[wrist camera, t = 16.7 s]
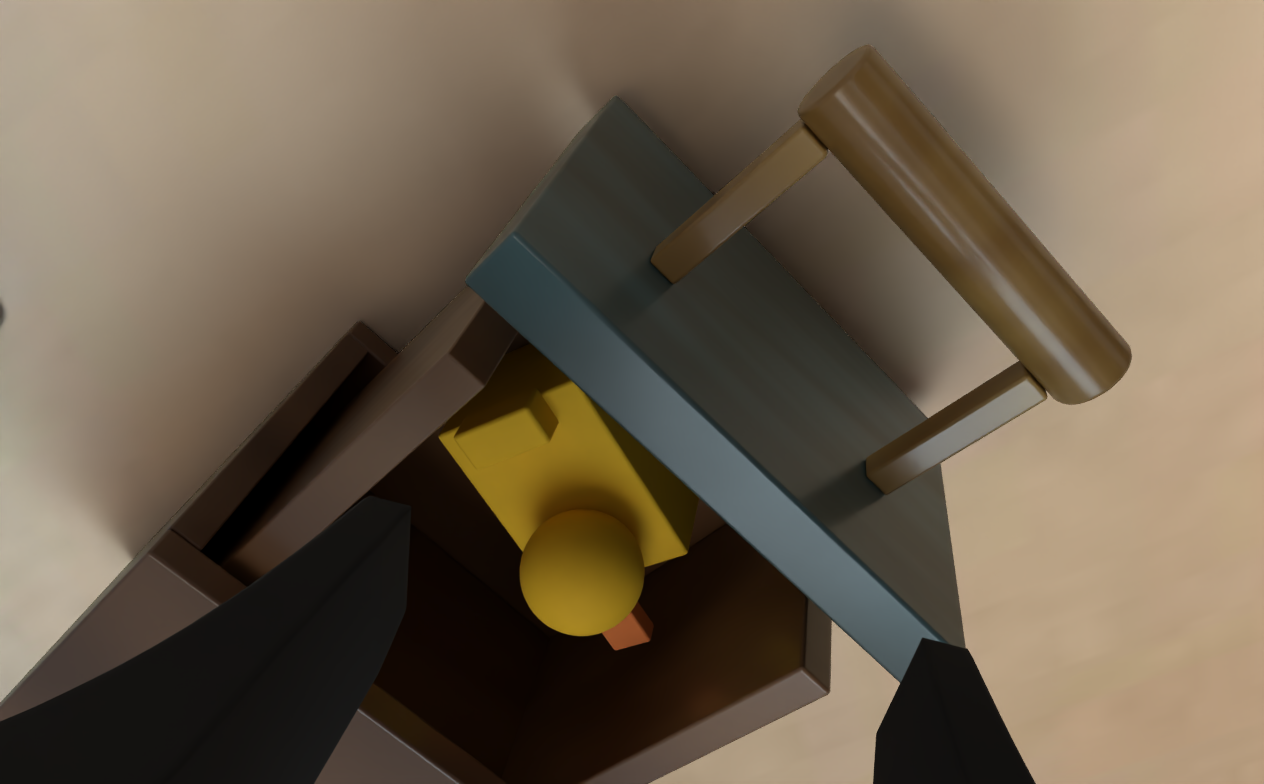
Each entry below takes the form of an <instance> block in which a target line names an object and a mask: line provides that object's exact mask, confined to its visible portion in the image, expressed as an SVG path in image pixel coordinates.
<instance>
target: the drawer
mask: <svg viewBox="0 0 1264 784" xmlns="http://www.w3.org/2000/svg"><path fill="white" fill-rule="evenodd" d="M798 115H799V117H800V118H801V119H800V120H799V121H798V122H797V123H796V124H795V125H794V126H792V127H791V128H790V129H789V130H788V131H787V132H786V133H785V134H783V135H782V136H781V137H780V138H779V139H778V140H777V141H776V142H774V143H773V144H772V145H771V146H770V147H769V148H768V149H766V150H765V151H764V152H763V153H762V154H761V155H760V156H759V157H757V158H756V159H755V160H754V161H753V162H752V163H751V164H749V165H748V166H747V167H746V168H745V169H744V170H743V171H742V172H740V173H739V174H738V175H737V176H736V177H735V178H734V179H732V180H731V181H730V182H729V183H728V184H727V185H726V186H725V187H723V188H722V189H721V190H720V191H719V192H718V193H717V194H715V195H713V194H712V193H711V192H710V191H709V190H708V189H707V188H706V187H705V186H704V185H703V184H702V183H701V182H700V180H699V179H698V178H697V177H696V176H695V175H694V174H693V173H692V172H691V171H690V170H689V169H688V168H687V167H686V166H685V165H684V164H683V163H682V162H681V161H680V160H679V159H678V158H677V157H676V155H675V154H674V153H673V152H672V151H671V150H670V149H669V148H668V147H667V146H666V145H665V144H664V143H663V142H662V141H661V140H660V139H659V138H658V137H657V136H656V135H655V134H654V133H653V132H652V131H651V129H650V128H649V127H648V126H647V125H646V124H645V123H644V122H643V121H642V120H641V119H640V118H639V117H638V116H637V115H636V114H635V113H634V112H633V111H632V110H631V109H630V108H629V107H628V106H627V105H626V103H625V102H624V101H623V100H622V99H621V98H620V97H619V96H613V97H612V98H611V99H610V100H609V101H608V102H607V104H606V105H605V106H604V107H603V108H602V109H601V110H600V111H599V112H598V113H597V114H596V115H595V116H594V117H593V118H592V119H591V120H590V121H589V122H588V123H587V124H586V125H585V126H584V127H583V128H582V129H581V130H580V131H579V132H578V134H577V135H576V136H575V138H574V139H573V140H572V141H571V143H570V144H569V145H568V147H567V148H566V149H565V150H564V152H563V153H562V154H561V156H560V157H559V158H558V159H557V161H556V162H555V163H554V165H553V166H552V167H551V168H550V170H549V171H548V172H547V174H546V175H545V176H544V177H543V179H542V180H541V181H540V183H539V184H538V185H537V186H536V188H535V189H534V190H533V192H532V193H531V194H530V195H529V197H528V198H527V199H526V201H525V202H524V203H523V205H522V206H521V207H520V208H519V210H518V211H517V212H516V214H515V215H514V216H513V217H512V219H511V220H510V221H509V223H508V224H507V225H506V226H505V228H504V229H503V230H502V232H501V233H500V234H499V235H498V237H497V238H496V239H495V241H494V242H493V243H492V244H491V246H490V247H489V248H488V250H487V251H486V252H485V253H484V255H483V256H482V257H481V259H480V260H479V261H478V262H477V264H476V265H475V266H474V268H473V269H472V270H471V271H470V273H469V274H468V275H467V277H466V280H465V282H466V284H467V286H466V287H465V288H464V289H463V290H462V291H461V292H460V293H459V294H458V295H457V296H456V297H455V298H454V299H453V300H452V301H451V302H450V303H449V304H448V305H447V306H446V307H445V308H444V309H443V310H442V311H441V312H440V313H439V314H438V315H437V316H436V317H435V318H434V319H433V320H432V321H431V322H430V323H429V324H428V325H427V326H426V327H425V328H424V329H423V330H422V331H421V332H420V333H419V334H418V335H417V336H416V337H415V338H414V339H413V340H412V341H411V342H410V343H409V344H408V345H407V346H406V347H405V348H404V349H403V350H402V351H401V352H400V353H399V354H398V355H397V356H396V357H395V358H394V359H393V360H392V361H391V362H390V363H389V364H388V365H387V366H386V367H385V368H384V369H383V370H382V371H381V372H380V373H379V374H378V375H377V376H376V377H375V378H374V379H373V380H372V381H371V382H370V383H369V384H368V385H366V386H365V387H364V388H363V389H362V390H361V391H360V392H359V393H358V394H357V395H356V396H355V397H354V398H353V399H352V400H351V401H350V402H349V403H348V404H347V405H346V406H345V407H344V408H343V409H342V410H341V411H340V412H339V413H338V414H337V415H336V416H335V417H334V418H333V419H332V420H331V421H330V422H329V423H328V424H327V425H326V426H325V427H324V428H323V429H322V430H321V431H320V432H319V433H318V434H317V435H316V436H315V437H314V438H313V439H312V440H311V441H310V442H309V444H308V445H307V446H306V447H305V448H304V450H303V451H302V452H301V453H300V455H299V456H298V457H297V458H296V459H295V461H294V462H293V463H292V464H291V465H290V467H289V468H288V469H287V470H286V472H285V473H284V474H283V475H282V476H281V478H280V479H279V480H278V481H277V483H276V484H275V485H274V486H273V487H272V489H271V490H270V491H269V492H268V493H267V495H266V496H265V497H264V498H263V500H262V501H261V502H260V503H259V504H258V506H257V507H256V508H255V509H254V511H253V512H252V513H251V514H250V515H249V517H248V518H247V519H246V520H245V522H244V523H243V524H242V525H241V526H240V528H239V529H238V530H237V531H236V533H235V534H234V535H233V536H232V537H231V539H230V540H229V541H228V542H227V544H226V545H225V546H224V547H223V548H222V550H221V551H220V552H219V553H218V554H217V556H216V557H215V558H214V559H213V561H214V562H215V563H216V564H218V565H219V566H220V567H222V568H223V569H224V570H226V571H227V572H228V573H230V574H231V575H232V576H234V577H235V578H236V579H237V580H239V581H240V582H241V583H243V584H244V585H245V586H247V587H248V586H249V585H251V584H252V583H253V582H255V581H256V580H258V579H259V578H260V577H262V576H263V575H265V574H266V573H267V572H269V571H270V570H271V569H273V568H274V567H276V566H277V565H278V564H280V563H281V562H283V561H284V560H285V559H287V558H288V557H289V556H291V555H292V554H294V553H295V552H296V551H297V550H299V549H300V548H301V547H303V546H304V545H305V544H307V543H308V542H309V541H311V540H312V539H313V538H315V537H316V536H317V535H318V534H320V533H321V532H322V531H324V530H325V529H326V528H327V527H329V526H330V525H331V524H332V523H334V522H335V521H336V520H337V519H339V518H340V517H341V516H343V515H344V514H345V513H346V512H348V511H349V510H350V509H351V508H353V507H354V506H355V505H356V504H358V503H359V502H360V501H361V500H363V499H365V498H367V497H368V496H374V497H378V498H381V499H385V500H389V501H393V502H397V503H401V504H405V505H409V506H411V524H410V544H409V565H408V585H407V606H406V611H405V613H404V616H403V618H402V620H401V623H400V625H399V628H398V630H397V632H396V635H395V637H394V639H393V642H392V644H391V646H390V649H389V651H388V653H387V655H386V658H385V660H384V662H383V664H382V667H381V669H380V671H379V673H378V675H377V677H376V679H375V680H374V683H375V684H377V685H378V686H379V687H381V688H382V689H383V690H385V691H386V692H387V693H389V694H390V695H391V696H393V697H394V698H395V699H397V700H398V701H399V702H401V703H402V704H403V705H405V706H406V707H407V708H409V709H410V710H411V711H413V712H414V713H415V714H417V715H418V716H419V717H421V718H422V719H423V720H424V721H426V722H427V723H428V724H430V725H431V726H432V727H434V728H435V729H436V730H438V731H439V732H440V733H442V734H443V735H444V736H446V737H447V738H448V739H450V740H451V741H452V742H454V743H455V744H456V745H458V746H459V747H460V748H462V749H463V750H464V751H466V752H467V753H468V754H470V755H471V756H472V757H474V758H475V759H476V760H478V761H479V762H480V763H482V764H483V765H484V766H485V767H487V768H488V769H489V770H491V771H492V772H493V773H495V774H496V775H497V776H499V777H500V778H501V779H503V780H504V781H505V782H507V783H508V784H648V783H650V782H652V781H654V780H656V779H658V778H660V777H662V776H664V775H666V774H668V773H670V772H672V771H675V770H677V769H679V768H681V767H683V766H685V765H687V764H689V763H691V762H693V761H695V760H697V759H699V758H701V757H703V756H705V755H707V754H709V753H711V752H713V751H715V750H717V749H719V748H721V747H723V746H725V745H727V744H729V743H731V742H733V741H735V740H737V739H739V738H741V737H743V736H745V735H747V734H749V733H751V732H753V731H755V730H757V729H759V728H761V727H763V726H765V725H767V724H769V723H771V722H773V721H775V720H777V719H779V718H781V717H783V716H785V715H787V714H789V713H791V712H793V711H796V710H798V709H800V708H802V707H804V706H806V705H808V704H810V703H812V702H814V701H816V700H818V699H820V698H822V697H824V696H826V695H828V694H829V692H830V679H831V627H832V621H834V622H835V623H836V624H837V625H838V626H839V627H840V628H841V629H842V630H843V631H844V632H846V633H847V634H848V635H849V636H850V637H851V638H852V639H853V640H854V641H855V642H856V643H857V644H859V645H860V646H861V647H862V648H863V649H864V650H865V651H866V652H867V653H868V654H869V655H871V656H872V657H873V658H874V659H875V660H876V661H877V662H878V663H879V664H880V665H881V666H883V667H884V668H885V669H886V670H887V671H888V672H889V673H890V674H891V675H892V676H893V677H894V678H896V679H897V680H898V681H899V682H900V683H901V681H902V679H903V677H904V675H905V673H906V671H907V668H908V666H909V664H910V662H911V660H912V658H913V656H914V654H915V652H916V650H917V648H918V645H919V643H920V641H921V639H922V637H923V638H927V639H931V640H935V641H939V642H942V643H946V644H950V645H954V646H958V647H962V648H966V647H965V639H964V632H963V625H962V617H961V610H960V603H959V595H958V588H957V581H956V573H955V566H954V559H953V551H952V544H951V537H950V530H949V522H948V515H947V508H946V500H945V493H944V486H943V478H942V471H941V464H940V463H942V462H943V461H945V460H946V459H948V458H950V457H951V456H953V455H955V454H956V453H958V452H960V451H961V450H963V449H965V448H966V447H968V446H970V445H971V444H973V443H975V442H976V441H978V440H980V439H981V438H983V437H985V436H986V435H988V434H990V433H991V432H993V431H995V430H996V429H998V428H1000V427H1001V426H1003V425H1005V424H1006V423H1008V422H1010V421H1011V420H1013V419H1015V418H1016V417H1018V416H1020V415H1021V414H1023V413H1025V412H1026V411H1028V410H1030V409H1031V408H1033V407H1035V406H1036V405H1038V404H1040V403H1041V402H1043V401H1045V400H1046V399H1047V393H1046V391H1047V392H1048V393H1049V394H1050V395H1051V396H1052V397H1053V398H1054V399H1055V400H1056V401H1058V402H1061V403H1063V404H1069V405H1073V404H1080V403H1084V402H1087V401H1090V400H1092V399H1094V398H1096V397H1098V396H1100V395H1102V394H1103V393H1105V392H1106V391H1108V390H1109V389H1110V388H1112V387H1113V386H1114V385H1115V384H1116V383H1117V382H1118V381H1119V380H1120V379H1121V378H1122V377H1123V376H1124V374H1125V373H1126V371H1127V370H1128V368H1129V366H1130V363H1131V359H1132V354H1131V349H1130V346H1129V345H1128V343H1127V342H1126V341H1125V340H1124V339H1123V338H1122V336H1121V335H1120V334H1119V333H1118V332H1117V331H1116V329H1115V328H1114V327H1113V326H1112V325H1111V324H1110V322H1109V321H1108V320H1107V319H1106V318H1105V317H1104V315H1103V314H1102V313H1101V312H1100V311H1099V310H1098V308H1097V307H1096V306H1095V305H1094V304H1093V302H1092V301H1091V300H1090V299H1089V298H1088V297H1087V295H1086V294H1085V293H1084V292H1083V291H1082V290H1081V288H1080V287H1079V286H1078V285H1077V284H1076V283H1075V281H1074V280H1073V279H1072V278H1071V277H1070V276H1069V274H1068V273H1067V272H1066V271H1065V270H1064V269H1063V267H1062V266H1061V265H1060V264H1059V263H1058V262H1057V260H1056V259H1055V258H1054V257H1053V256H1052V255H1051V253H1050V252H1049V251H1048V250H1047V249H1046V248H1045V246H1044V245H1043V244H1042V243H1041V242H1040V240H1039V239H1038V238H1037V237H1036V236H1035V235H1034V233H1033V232H1032V231H1031V230H1030V229H1029V228H1028V226H1027V225H1026V224H1025V223H1024V222H1023V221H1022V219H1021V218H1020V217H1019V216H1018V215H1017V214H1016V212H1015V211H1014V210H1013V209H1012V208H1011V207H1010V205H1009V204H1008V203H1007V202H1006V201H1005V200H1004V198H1003V197H1002V196H1001V195H1000V194H999V193H998V191H997V190H996V189H995V188H994V187H993V186H992V184H991V183H990V182H989V181H988V180H987V179H986V177H985V176H984V175H983V174H982V173H981V171H980V170H979V169H978V168H977V167H976V166H975V164H974V163H973V162H972V161H971V160H970V159H969V157H968V156H967V155H966V154H965V153H964V152H963V150H962V149H961V148H960V147H959V146H958V145H957V143H956V142H955V141H954V140H953V139H952V138H951V136H950V135H949V134H948V133H947V132H946V131H945V129H944V128H943V127H942V126H941V125H940V124H939V122H938V121H937V120H936V119H935V118H934V117H933V115H932V114H931V113H930V112H929V111H928V109H927V108H926V107H925V106H924V105H923V104H922V102H921V101H920V100H919V99H918V98H917V97H916V95H915V94H914V93H913V92H912V91H911V90H910V88H909V87H908V86H907V85H906V84H905V83H904V81H903V80H902V79H901V78H900V77H899V76H898V74H897V73H896V72H895V71H894V70H893V69H892V67H891V66H890V65H889V64H888V63H887V62H886V60H885V59H884V58H883V57H882V56H881V55H880V53H879V52H878V51H877V50H876V49H875V47H873V46H871V45H869V44H868V45H864V46H862V47H860V48H858V49H856V50H854V51H853V52H851V53H850V54H848V55H847V56H846V57H844V58H843V59H842V60H840V61H839V62H838V63H837V64H836V65H835V66H833V67H832V68H831V69H830V70H829V71H828V72H827V73H826V74H825V75H824V76H823V77H822V78H821V79H820V80H819V81H818V82H817V83H816V84H815V85H814V86H813V87H812V89H811V90H810V91H809V92H808V93H807V95H806V96H805V97H804V99H803V100H802V102H801V104H800V106H799V108H798ZM828 149H829V150H830V152H831V153H832V154H833V155H834V156H835V157H836V158H837V159H838V160H839V162H840V163H841V164H842V165H843V166H844V167H845V168H846V169H847V170H848V171H849V173H850V174H851V175H852V176H853V177H854V178H855V179H856V180H857V181H858V183H859V184H860V185H861V186H862V187H863V188H864V189H865V190H866V191H867V193H868V194H869V195H870V196H871V197H872V198H873V199H874V200H875V201H876V202H877V204H878V205H879V206H880V207H881V208H882V209H883V210H884V211H885V212H886V214H887V215H888V216H889V217H890V218H891V219H892V220H893V221H894V222H895V224H896V225H897V226H898V227H899V228H900V229H901V230H902V231H903V232H904V233H905V235H906V236H907V237H908V238H909V239H910V240H911V241H912V242H913V243H914V245H915V246H916V247H917V248H918V249H919V250H920V251H921V252H922V253H923V255H924V256H925V257H926V258H927V259H928V260H929V261H930V262H931V263H932V264H933V266H934V267H935V268H936V269H937V270H938V271H939V272H940V273H941V274H942V276H943V277H944V278H945V279H946V280H947V281H948V282H949V283H950V284H951V286H952V287H953V288H954V289H955V290H956V291H957V292H958V293H959V294H960V295H961V297H962V298H963V299H964V300H965V301H966V302H967V303H968V304H969V305H970V307H971V308H972V309H973V310H974V311H975V312H976V313H977V314H978V315H979V317H980V318H981V319H982V320H983V321H984V322H985V323H986V324H987V325H988V326H989V328H990V329H991V330H992V331H993V332H994V333H995V334H996V335H997V336H998V338H999V339H1000V340H1001V341H1002V342H1003V343H1004V344H1005V345H1006V346H1007V348H1008V349H1009V350H1010V351H1011V352H1012V353H1013V354H1014V355H1015V356H1016V357H1017V359H1018V360H1019V361H1018V362H1016V363H1015V364H1013V365H1012V366H1010V367H1009V368H1007V369H1005V370H1004V371H1002V372H1001V373H999V374H998V375H996V376H994V377H993V378H991V379H990V380H988V381H986V382H985V383H983V384H982V385H980V386H979V387H977V388H975V389H974V390H972V391H971V392H969V393H968V394H966V395H964V396H963V397H961V398H960V399H958V400H956V401H955V402H953V403H952V404H950V405H949V406H947V407H945V408H944V409H942V410H941V411H939V412H938V413H936V414H934V415H933V416H931V417H930V418H927V417H926V416H925V415H924V414H923V412H922V411H921V410H920V409H919V408H918V407H917V406H916V405H915V404H914V403H913V402H912V401H911V400H910V399H909V398H908V397H907V396H906V395H905V394H904V393H903V392H902V391H901V390H900V389H899V387H898V386H897V385H896V384H895V383H894V382H893V381H892V380H891V379H890V378H889V377H888V376H887V375H886V374H885V373H884V372H883V371H882V370H881V369H880V368H879V367H878V366H877V365H876V364H875V363H874V361H873V360H872V359H871V358H870V357H869V356H868V355H867V354H866V353H865V352H864V351H863V350H862V349H861V348H860V347H859V346H858V345H857V344H856V343H855V342H854V341H853V340H852V339H851V338H850V337H849V335H848V334H847V333H846V332H845V331H844V330H843V329H842V328H841V327H840V326H839V325H838V324H837V323H836V322H835V321H834V320H833V319H832V318H831V317H830V316H829V315H828V314H827V313H826V312H825V311H824V309H823V308H822V307H821V306H820V305H819V304H818V303H817V302H816V301H815V300H814V299H813V298H812V297H811V296H810V295H809V294H808V293H807V292H806V291H805V290H804V289H803V288H802V287H801V286H800V285H799V283H798V282H797V281H796V280H795V279H794V278H793V277H792V276H791V275H790V274H789V273H788V272H787V271H786V270H785V269H784V268H783V267H782V266H781V265H780V264H779V263H778V262H777V261H776V260H775V258H774V257H773V256H772V255H771V254H770V253H769V252H768V251H767V250H766V249H765V248H764V247H763V246H762V245H761V244H760V243H759V242H758V241H757V240H756V239H755V238H754V237H753V236H752V235H751V234H750V232H749V231H748V230H747V229H746V228H745V227H744V226H745V225H746V224H747V223H749V222H750V221H751V220H752V219H753V218H755V217H756V216H757V215H758V214H759V213H761V212H762V211H763V210H764V209H765V208H766V207H768V206H769V205H770V204H771V203H772V202H774V201H775V200H776V199H777V198H778V197H779V196H781V195H782V194H783V193H784V192H785V191H787V190H788V189H789V188H790V187H791V186H793V185H794V184H795V183H796V182H797V181H798V180H800V179H801V178H802V177H803V176H804V175H806V174H807V173H808V172H809V171H810V170H811V169H813V168H814V167H815V166H816V165H817V164H819V163H820V162H821V161H822V160H823V159H825V158H826V156H827V154H828ZM530 343H531V344H532V345H533V346H534V347H535V348H536V349H537V350H539V351H540V352H541V353H542V354H543V355H544V356H545V357H546V358H547V359H548V360H549V361H550V362H552V363H553V364H554V365H555V366H556V367H557V368H558V369H559V370H560V371H561V372H562V373H564V374H565V375H566V376H567V377H568V378H569V379H570V380H571V381H572V382H573V383H574V384H576V385H577V386H578V387H579V388H580V389H581V390H582V391H583V392H584V393H585V394H586V395H587V396H589V397H590V398H591V399H592V400H593V401H594V402H595V403H596V404H597V405H598V406H599V407H601V408H602V409H603V410H604V411H605V412H606V413H607V414H608V415H609V416H610V417H611V418H613V419H614V420H615V421H616V422H617V423H618V424H619V425H620V426H621V427H622V428H623V429H625V430H626V431H627V432H628V433H629V434H630V435H631V436H632V437H633V438H634V439H635V440H636V441H638V442H639V443H640V444H641V445H642V446H643V447H644V448H645V449H646V450H647V451H648V452H650V453H651V454H652V455H653V456H654V457H655V458H656V459H657V460H658V461H659V462H660V463H662V464H663V465H664V466H665V467H666V468H667V469H668V470H669V471H670V472H671V473H672V474H674V475H675V476H676V477H677V478H678V479H679V480H680V481H681V482H682V483H683V484H684V485H685V486H687V487H688V488H689V489H690V490H691V491H692V492H693V493H694V494H695V495H696V496H697V497H699V502H698V506H697V511H696V516H695V521H694V526H693V530H692V535H691V540H690V545H689V550H688V553H687V554H685V555H683V556H680V557H676V558H673V559H670V560H667V561H663V562H660V563H657V564H654V565H651V566H647V567H644V569H645V576H644V584H643V588H642V592H641V595H640V597H639V599H638V602H639V604H640V605H641V607H642V608H643V610H644V611H645V613H646V614H647V615H648V617H649V618H650V620H651V621H652V623H653V625H654V627H653V631H652V636H651V640H650V641H649V642H645V643H641V644H638V645H634V646H630V647H627V648H623V649H619V650H614V649H613V648H612V646H611V645H610V643H609V642H608V641H607V639H606V638H605V637H604V635H603V634H602V633H599V634H595V635H590V636H573V635H568V634H564V633H561V632H559V631H556V630H554V629H552V628H550V627H549V626H547V625H546V624H544V623H543V622H542V621H541V620H540V619H539V618H538V617H537V616H536V615H535V614H534V613H533V612H532V610H531V609H530V607H529V606H528V604H527V602H526V600H525V598H524V595H523V592H522V589H521V584H520V563H521V557H522V554H523V552H522V550H521V549H520V548H519V546H518V545H517V544H516V542H515V541H514V539H513V538H512V537H511V535H510V534H509V533H508V531H507V530H506V529H505V527H504V526H503V525H502V523H501V522H500V521H499V519H498V518H497V516H496V515H495V514H494V512H493V511H492V510H491V508H490V507H489V506H488V504H487V503H486V502H485V500H484V499H483V497H482V496H481V495H480V493H479V492H478V491H477V489H476V488H475V487H474V485H473V484H472V483H471V481H470V480H469V478H468V477H467V476H466V474H465V473H464V472H463V470H462V469H461V468H460V466H459V465H458V464H457V462H456V461H455V459H454V458H453V457H452V455H451V454H450V453H449V451H448V450H447V449H446V447H445V446H444V445H443V443H442V442H441V441H440V439H439V434H440V432H441V431H442V429H443V428H444V426H445V424H446V423H447V421H448V420H449V419H450V418H451V417H452V416H453V415H454V414H455V413H456V412H458V411H459V410H460V409H461V408H462V407H463V406H464V405H465V404H467V403H468V402H469V401H470V400H471V399H472V398H473V397H474V396H476V395H477V394H478V393H479V392H480V391H481V390H482V389H483V388H485V386H486V385H487V383H488V381H489V380H490V378H491V376H492V375H493V373H494V371H495V370H496V368H497V366H498V365H499V363H500V361H501V360H502V358H503V356H504V355H505V354H507V353H510V352H512V351H514V350H517V349H519V348H521V347H523V346H526V345H528V344H530Z"/></svg>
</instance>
